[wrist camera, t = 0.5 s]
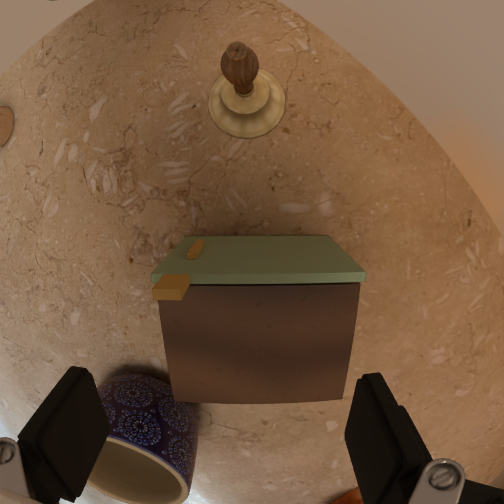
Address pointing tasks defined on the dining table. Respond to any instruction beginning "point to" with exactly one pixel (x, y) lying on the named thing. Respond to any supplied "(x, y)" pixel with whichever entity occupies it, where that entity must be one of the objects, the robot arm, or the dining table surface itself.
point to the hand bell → (245, 95)
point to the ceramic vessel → (350, 498)
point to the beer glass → (5, 124)
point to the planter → (145, 442)
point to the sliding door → (252, 263)
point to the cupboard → (260, 342)
